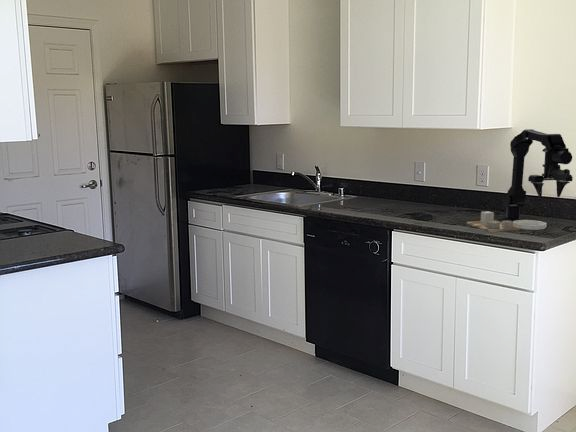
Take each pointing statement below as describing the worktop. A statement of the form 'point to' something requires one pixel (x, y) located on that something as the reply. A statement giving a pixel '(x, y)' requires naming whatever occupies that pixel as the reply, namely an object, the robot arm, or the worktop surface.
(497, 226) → the grey piece
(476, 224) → the tray
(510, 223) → the grey cubic piece
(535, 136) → the robot arm
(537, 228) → the bowl
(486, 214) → the grey rectangular block
